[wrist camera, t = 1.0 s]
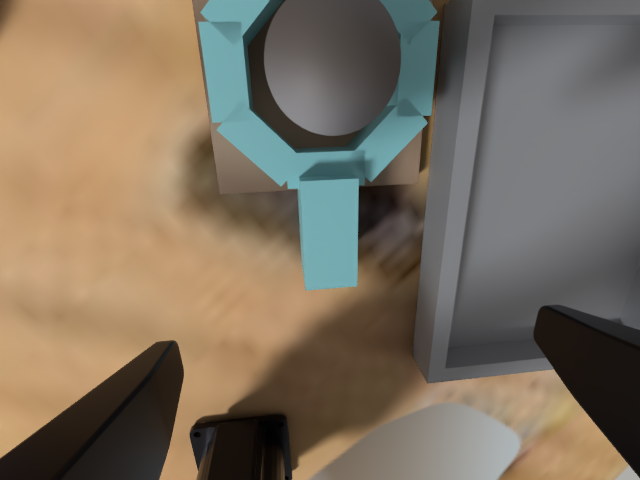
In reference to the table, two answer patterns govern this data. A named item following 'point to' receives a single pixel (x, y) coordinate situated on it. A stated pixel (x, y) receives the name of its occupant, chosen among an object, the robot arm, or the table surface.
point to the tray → (529, 180)
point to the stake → (317, 85)
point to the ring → (322, 162)
